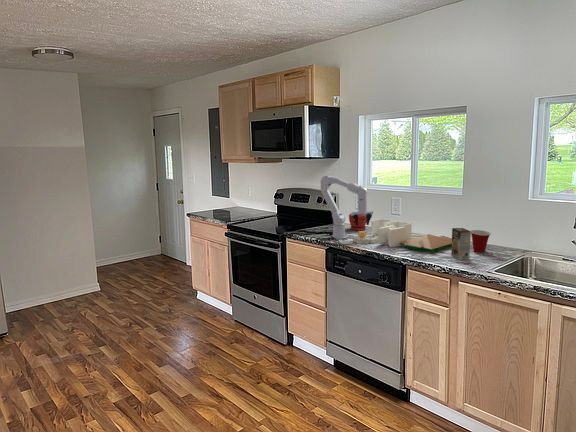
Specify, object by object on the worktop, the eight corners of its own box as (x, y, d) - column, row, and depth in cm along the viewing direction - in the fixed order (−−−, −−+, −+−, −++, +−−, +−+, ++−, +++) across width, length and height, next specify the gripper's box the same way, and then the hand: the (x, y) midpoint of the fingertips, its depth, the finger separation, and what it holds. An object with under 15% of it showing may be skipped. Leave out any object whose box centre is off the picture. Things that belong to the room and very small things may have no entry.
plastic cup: (486, 255, 236) (487, 234, 234) (466, 252, 243) (467, 232, 241) (492, 251, 244) (493, 231, 242) (473, 248, 251) (474, 229, 249)
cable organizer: (389, 248, 257) (389, 230, 255) (377, 245, 266) (377, 227, 264) (406, 245, 265) (406, 227, 263) (394, 242, 274) (394, 224, 272)
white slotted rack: (411, 239, 280) (411, 223, 279) (401, 242, 274) (401, 225, 272) (381, 233, 299) (381, 218, 298) (371, 236, 293) (371, 220, 291)
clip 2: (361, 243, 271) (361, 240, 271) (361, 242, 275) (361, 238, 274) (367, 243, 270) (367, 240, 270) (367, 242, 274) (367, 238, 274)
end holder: (363, 240, 280) (363, 236, 280) (376, 239, 282) (376, 235, 281) (369, 243, 271) (369, 239, 271) (382, 242, 273) (382, 238, 273)
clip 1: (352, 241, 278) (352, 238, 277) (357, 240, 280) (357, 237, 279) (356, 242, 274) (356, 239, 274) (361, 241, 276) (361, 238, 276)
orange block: (357, 238, 288) (357, 230, 287) (362, 237, 289) (362, 230, 288) (360, 239, 282) (360, 232, 281) (366, 239, 283) (366, 232, 282)
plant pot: (353, 227, 325) (353, 211, 323) (369, 228, 318) (369, 213, 315) (345, 230, 315) (345, 214, 313) (361, 231, 307) (361, 215, 305)
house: (396, 248, 258) (396, 235, 257) (427, 240, 278) (428, 227, 277) (428, 255, 240) (428, 241, 239) (460, 245, 260) (460, 233, 259)
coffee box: (450, 256, 236) (451, 228, 234) (461, 255, 237) (462, 227, 234) (458, 260, 227) (459, 231, 225) (469, 259, 228) (471, 230, 225)
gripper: (354, 206, 275) (354, 227, 277) (374, 205, 278) (374, 225, 280) (350, 205, 282) (350, 225, 284) (370, 204, 285) (370, 223, 287)
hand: (362, 225), depth 283 cm, fingers open, 7 cm apart
